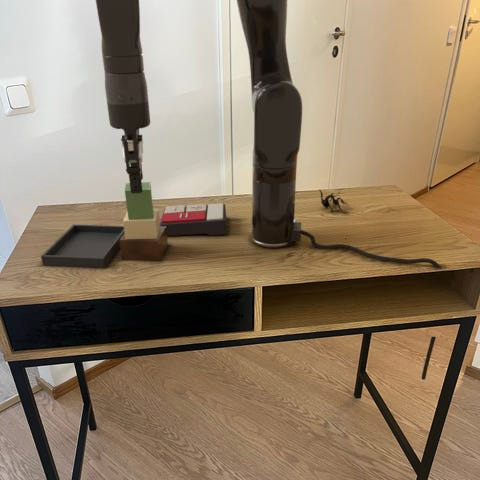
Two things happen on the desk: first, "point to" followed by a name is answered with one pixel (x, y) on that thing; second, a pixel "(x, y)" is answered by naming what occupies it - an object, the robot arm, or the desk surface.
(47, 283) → the desk surface
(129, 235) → the cream block
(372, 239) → the desk surface
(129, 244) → the walnut block
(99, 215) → the desk surface
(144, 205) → the green block
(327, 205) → the creature
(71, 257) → the tray
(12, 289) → the desk surface
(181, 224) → the calculator
